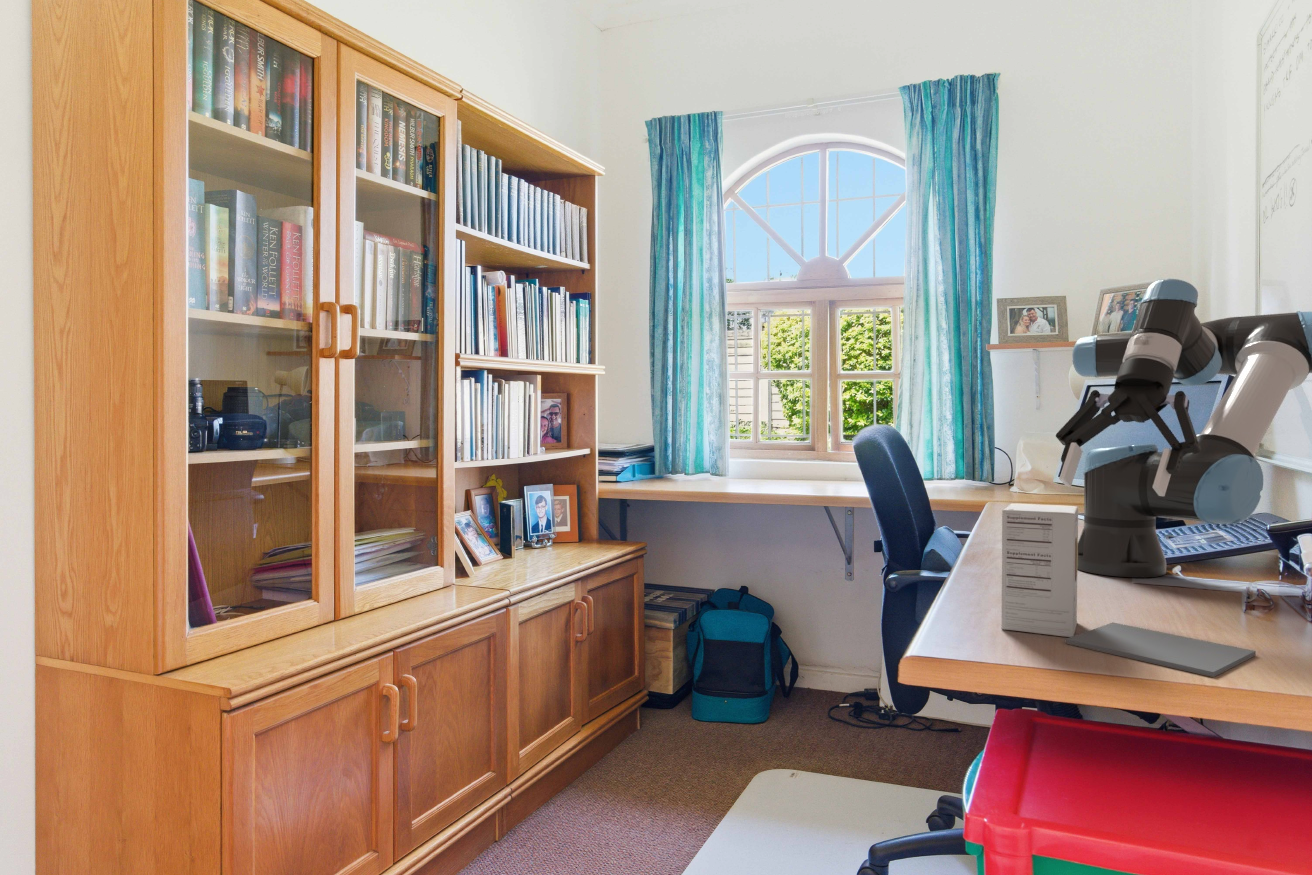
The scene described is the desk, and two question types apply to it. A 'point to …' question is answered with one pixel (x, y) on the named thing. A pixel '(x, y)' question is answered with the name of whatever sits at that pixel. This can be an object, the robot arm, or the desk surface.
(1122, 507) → the robot arm
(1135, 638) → the mat
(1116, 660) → the desk surface
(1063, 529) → the supplement box
